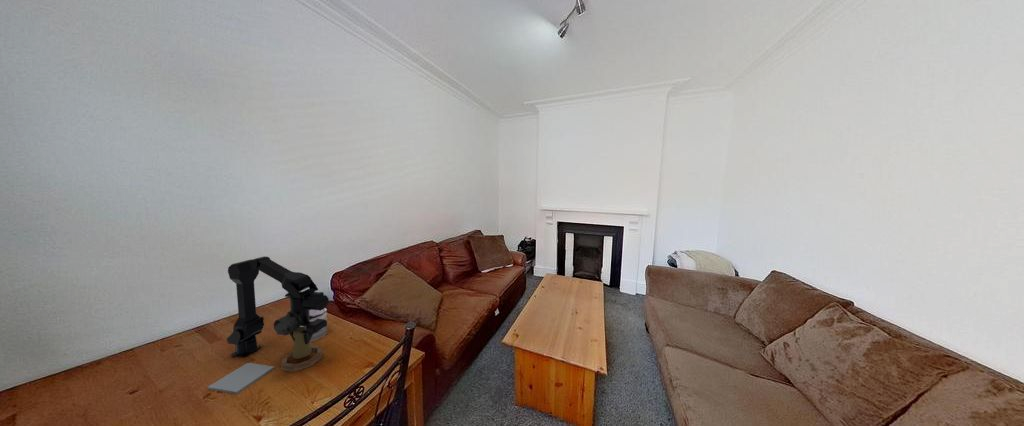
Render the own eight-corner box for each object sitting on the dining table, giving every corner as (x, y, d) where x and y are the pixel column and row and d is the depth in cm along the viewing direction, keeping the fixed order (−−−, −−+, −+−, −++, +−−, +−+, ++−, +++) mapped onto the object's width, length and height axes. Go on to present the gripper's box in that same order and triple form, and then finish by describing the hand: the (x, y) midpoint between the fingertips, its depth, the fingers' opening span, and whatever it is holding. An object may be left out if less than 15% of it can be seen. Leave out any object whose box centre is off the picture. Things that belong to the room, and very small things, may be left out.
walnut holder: (273, 368, 96) (273, 364, 96) (303, 348, 108) (303, 344, 108) (301, 373, 95) (301, 368, 94) (329, 351, 107) (329, 347, 107)
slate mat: (207, 389, 86) (207, 386, 86) (248, 364, 98) (247, 362, 98) (236, 394, 84) (236, 391, 84) (274, 368, 96) (274, 366, 96)
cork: (300, 359, 98) (299, 333, 96) (288, 357, 99) (287, 331, 98) (315, 350, 103) (314, 325, 102) (303, 347, 105) (302, 323, 103)
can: (291, 344, 111) (289, 318, 109) (305, 329, 122) (304, 306, 120) (320, 341, 113) (319, 316, 112) (331, 327, 124) (331, 304, 123)
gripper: (256, 314, 92) (259, 353, 94) (301, 320, 90) (303, 359, 92) (287, 301, 103) (289, 335, 105) (327, 305, 101) (328, 341, 103)
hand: (301, 343), depth 101 cm, fingers closed on cork, 4 cm apart
